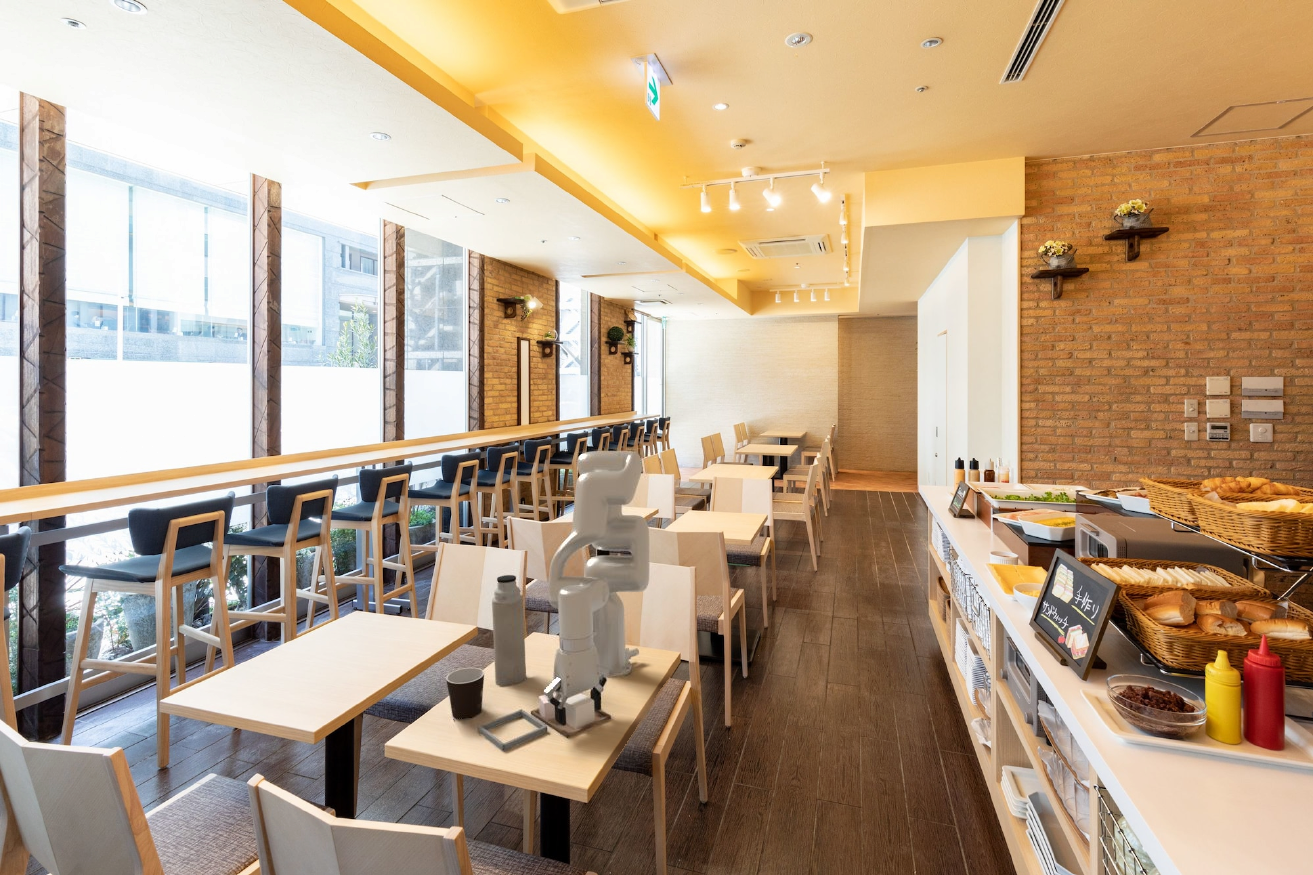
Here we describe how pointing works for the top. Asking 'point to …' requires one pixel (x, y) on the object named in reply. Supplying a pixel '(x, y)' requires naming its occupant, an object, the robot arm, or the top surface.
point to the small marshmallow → (546, 707)
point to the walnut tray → (567, 729)
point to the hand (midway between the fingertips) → (578, 715)
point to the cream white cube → (579, 711)
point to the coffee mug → (465, 692)
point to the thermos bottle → (508, 632)
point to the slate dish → (504, 746)
